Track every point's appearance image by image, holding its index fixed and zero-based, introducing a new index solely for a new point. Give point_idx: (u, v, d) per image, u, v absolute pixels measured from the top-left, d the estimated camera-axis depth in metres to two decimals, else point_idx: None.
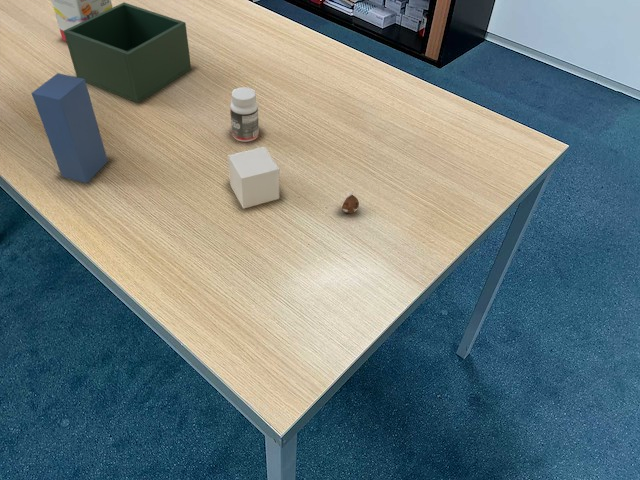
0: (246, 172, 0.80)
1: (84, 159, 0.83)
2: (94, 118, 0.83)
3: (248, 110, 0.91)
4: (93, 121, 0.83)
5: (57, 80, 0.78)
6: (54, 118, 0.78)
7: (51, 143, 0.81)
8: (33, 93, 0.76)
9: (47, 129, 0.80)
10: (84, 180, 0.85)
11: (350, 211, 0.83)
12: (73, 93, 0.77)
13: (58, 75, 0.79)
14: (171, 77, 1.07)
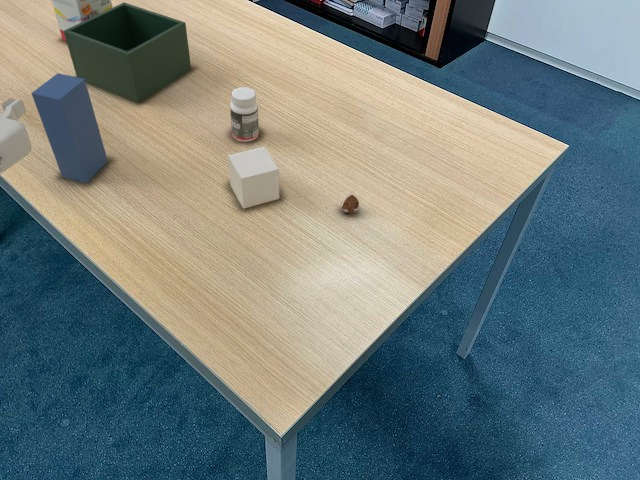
0: (246, 172, 0.80)
1: (84, 159, 0.83)
2: (94, 118, 0.83)
3: (248, 110, 0.91)
4: (93, 121, 0.83)
5: (57, 80, 0.78)
6: (54, 118, 0.78)
7: (51, 143, 0.81)
8: (33, 93, 0.76)
9: (47, 129, 0.80)
10: (84, 180, 0.85)
11: (350, 211, 0.83)
12: (73, 93, 0.77)
13: (58, 75, 0.79)
14: (171, 77, 1.07)
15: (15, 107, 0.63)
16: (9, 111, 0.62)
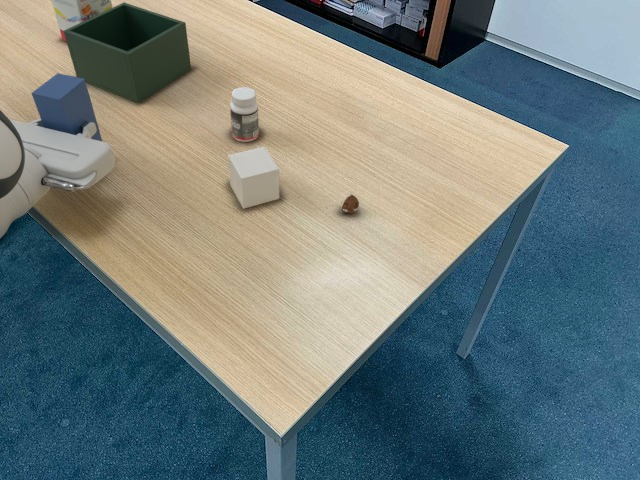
0: (246, 172, 0.80)
1: None
2: (94, 117, 0.83)
3: (248, 110, 0.91)
4: (93, 121, 0.83)
5: (57, 80, 0.78)
6: (54, 118, 0.78)
7: None
8: (33, 93, 0.76)
9: None
10: None
11: (350, 211, 0.83)
12: (73, 93, 0.77)
13: (58, 75, 0.79)
14: (171, 77, 1.07)
15: (90, 128, 0.81)
16: (86, 131, 0.79)
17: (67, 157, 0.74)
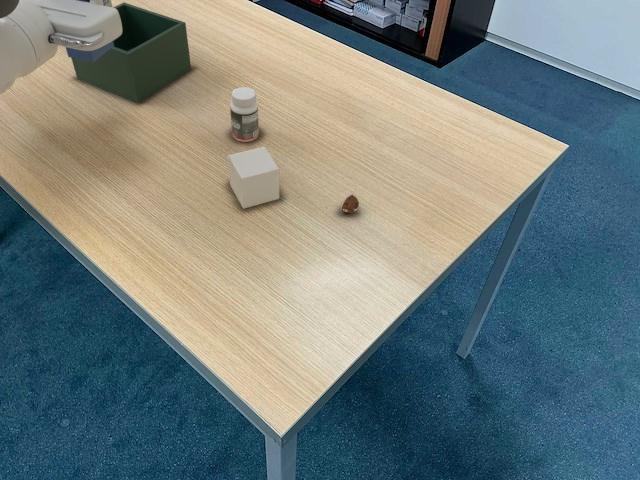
0: (246, 172, 0.80)
1: None
2: None
3: (248, 110, 0.91)
4: None
5: None
6: None
7: None
8: None
9: None
10: (90, 59, 0.85)
11: (350, 211, 0.83)
12: None
13: None
14: (171, 77, 1.07)
15: (96, 0, 0.80)
16: (93, 1, 0.79)
17: (74, 17, 0.74)
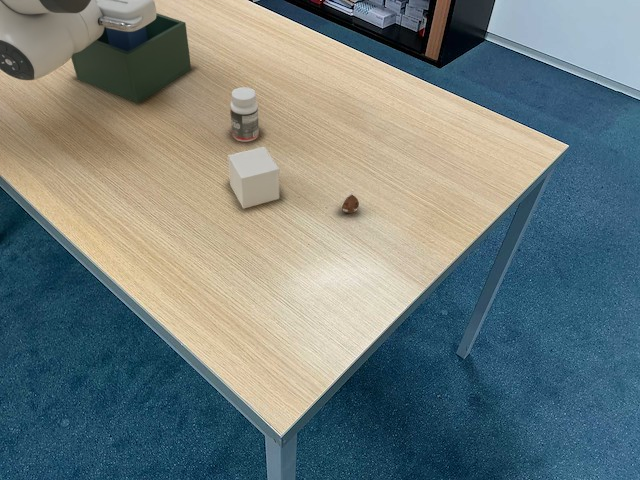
0: (246, 172, 0.80)
1: None
2: None
3: (248, 110, 0.91)
4: (143, 27, 1.04)
5: None
6: None
7: (110, 43, 1.02)
8: None
9: (108, 30, 1.00)
10: None
11: (350, 211, 0.83)
12: None
13: None
14: (171, 77, 1.07)
15: None
16: None
17: (118, 4, 0.89)
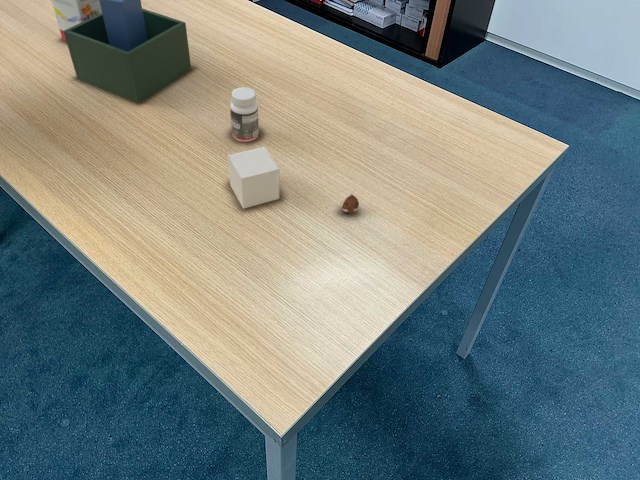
0: (246, 172, 0.80)
1: None
2: (144, 25, 1.04)
3: (248, 110, 0.91)
4: (143, 27, 1.04)
5: None
6: (115, 20, 0.98)
7: (110, 43, 1.02)
8: None
9: (108, 30, 1.00)
10: None
11: (350, 211, 0.83)
12: (130, 0, 0.98)
13: None
14: (171, 77, 1.07)
15: None
16: None
17: None
